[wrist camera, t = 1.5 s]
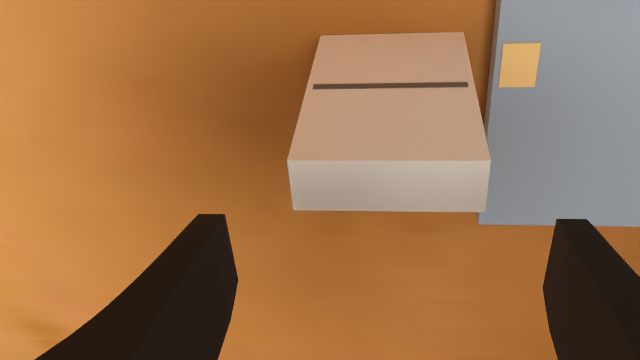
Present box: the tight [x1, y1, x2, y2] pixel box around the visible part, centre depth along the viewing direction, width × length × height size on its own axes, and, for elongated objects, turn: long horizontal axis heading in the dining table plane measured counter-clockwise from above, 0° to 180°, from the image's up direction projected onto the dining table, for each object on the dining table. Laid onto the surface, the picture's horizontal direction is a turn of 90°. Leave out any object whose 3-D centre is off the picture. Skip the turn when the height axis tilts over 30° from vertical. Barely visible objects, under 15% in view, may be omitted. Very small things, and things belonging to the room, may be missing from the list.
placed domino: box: [287, 32, 491, 212], centre depth 19 cm, size 2×5×8 cm, turn 94°
